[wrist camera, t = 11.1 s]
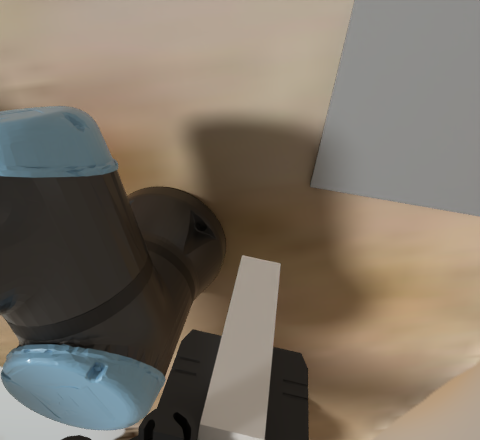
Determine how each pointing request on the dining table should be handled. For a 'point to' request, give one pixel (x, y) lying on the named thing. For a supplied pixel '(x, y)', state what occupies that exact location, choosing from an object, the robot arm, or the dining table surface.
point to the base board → (406, 106)
